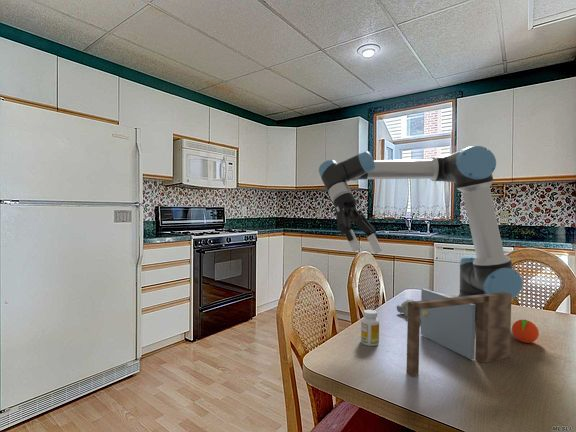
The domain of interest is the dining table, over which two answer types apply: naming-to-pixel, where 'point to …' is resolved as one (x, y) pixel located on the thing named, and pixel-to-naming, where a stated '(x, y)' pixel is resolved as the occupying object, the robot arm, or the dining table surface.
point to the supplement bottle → (370, 328)
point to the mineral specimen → (405, 308)
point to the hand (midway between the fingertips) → (368, 250)
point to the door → (449, 324)
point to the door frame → (489, 326)
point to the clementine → (525, 331)
